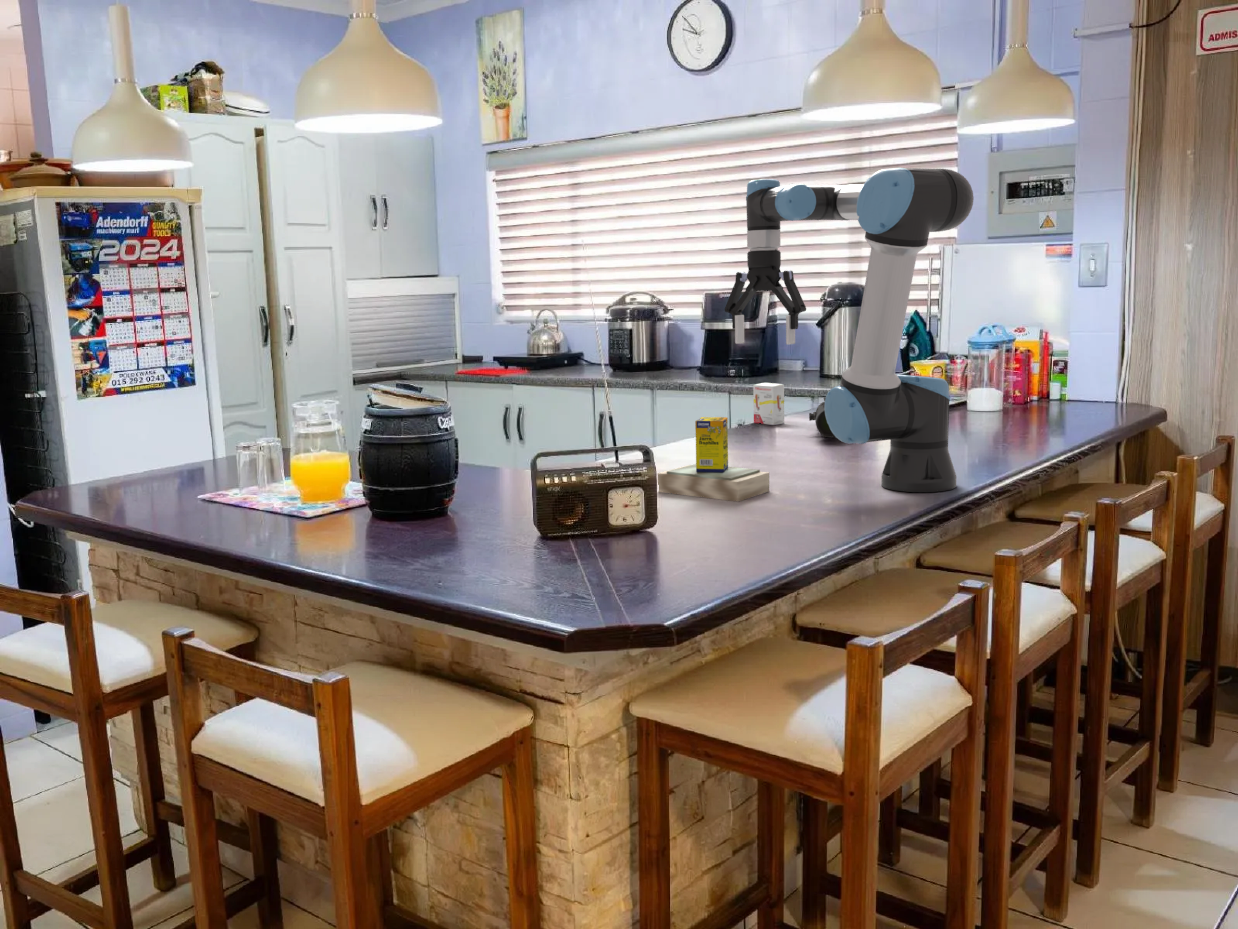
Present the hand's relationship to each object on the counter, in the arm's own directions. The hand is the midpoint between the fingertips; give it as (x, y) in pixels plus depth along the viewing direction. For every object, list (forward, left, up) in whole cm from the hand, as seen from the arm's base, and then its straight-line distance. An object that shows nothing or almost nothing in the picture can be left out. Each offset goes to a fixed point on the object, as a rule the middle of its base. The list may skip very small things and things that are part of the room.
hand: (764, 343), depth 257 cm
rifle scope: (+11, -51, -29) cm, 60 cm away
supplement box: (-6, +31, -24) cm, 40 cm away
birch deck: (-6, +31, -29) cm, 43 cm away
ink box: (+38, -64, -29) cm, 80 cm away
